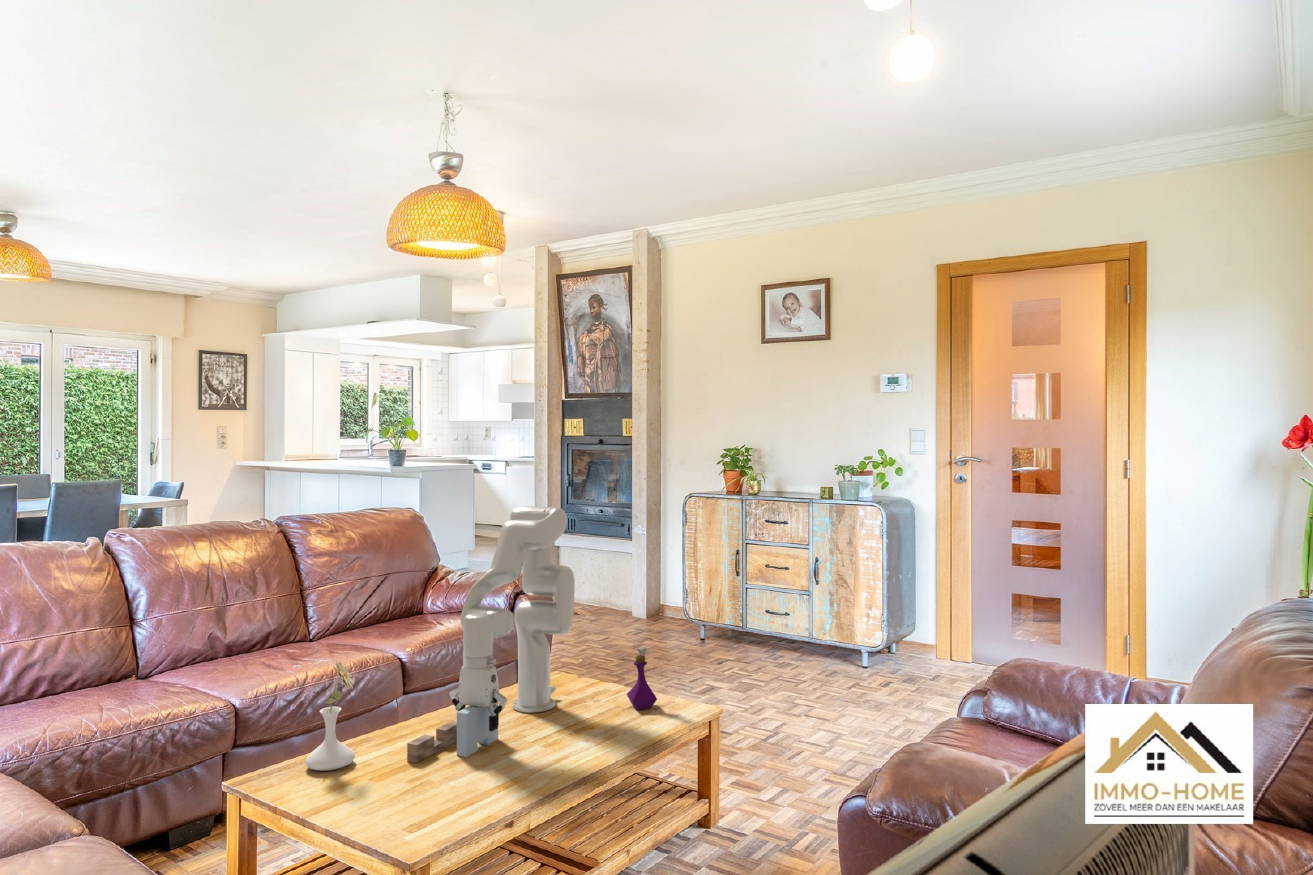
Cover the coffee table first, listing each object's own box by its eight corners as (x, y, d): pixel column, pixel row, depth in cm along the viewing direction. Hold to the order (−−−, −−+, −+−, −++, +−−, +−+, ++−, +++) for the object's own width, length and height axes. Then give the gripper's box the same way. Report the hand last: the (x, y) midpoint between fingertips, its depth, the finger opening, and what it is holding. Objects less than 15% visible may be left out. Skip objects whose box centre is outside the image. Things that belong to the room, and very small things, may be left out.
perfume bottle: (626, 704, 253) (626, 645, 252) (650, 702, 255) (650, 643, 255) (633, 712, 245) (633, 651, 245) (657, 710, 248) (657, 649, 248)
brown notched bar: (452, 737, 225) (452, 720, 225) (461, 738, 224) (461, 722, 224) (407, 761, 208) (407, 743, 208) (416, 763, 207) (416, 744, 207)
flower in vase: (338, 777, 199) (338, 671, 199) (295, 773, 201) (295, 669, 201) (367, 756, 212) (367, 657, 212) (327, 752, 214) (327, 655, 214)
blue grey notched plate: (456, 755, 212) (456, 712, 212) (488, 737, 225) (488, 696, 225) (466, 757, 211) (466, 713, 211) (498, 738, 224) (498, 697, 224)
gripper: (514, 661, 218) (514, 727, 218) (459, 654, 225) (459, 718, 225) (497, 668, 211) (497, 736, 211) (441, 661, 218) (441, 727, 218)
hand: (477, 727), depth 218 cm, fingers open, 9 cm apart
